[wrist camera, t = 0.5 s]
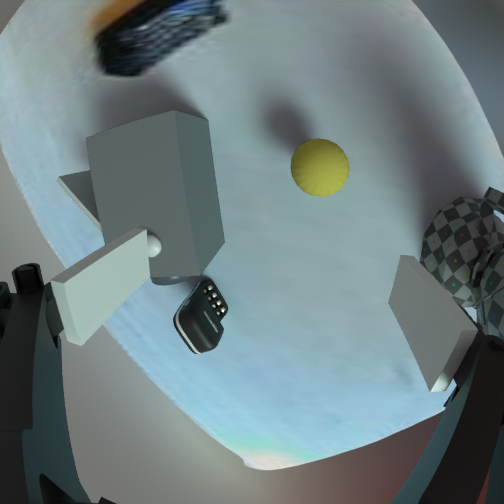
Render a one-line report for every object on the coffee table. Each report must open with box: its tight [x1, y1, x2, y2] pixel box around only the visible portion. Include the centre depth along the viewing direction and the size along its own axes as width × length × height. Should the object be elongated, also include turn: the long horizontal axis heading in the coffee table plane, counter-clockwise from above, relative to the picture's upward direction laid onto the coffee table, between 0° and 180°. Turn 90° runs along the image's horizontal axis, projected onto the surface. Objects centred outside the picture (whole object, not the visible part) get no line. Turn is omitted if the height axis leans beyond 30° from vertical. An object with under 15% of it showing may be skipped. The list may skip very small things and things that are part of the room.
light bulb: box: [291, 138, 349, 197], centre depth 32 cm, size 7×7×10 cm
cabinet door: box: [57, 170, 102, 232], centre depth 37 cm, size 12×1×9 cm, turn 47°
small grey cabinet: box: [86, 110, 225, 285], centre depth 35 cm, size 20×12×13 cm, turn 7°
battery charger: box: [173, 281, 228, 354], centre depth 41 cm, size 7×4×11 cm, turn 27°
